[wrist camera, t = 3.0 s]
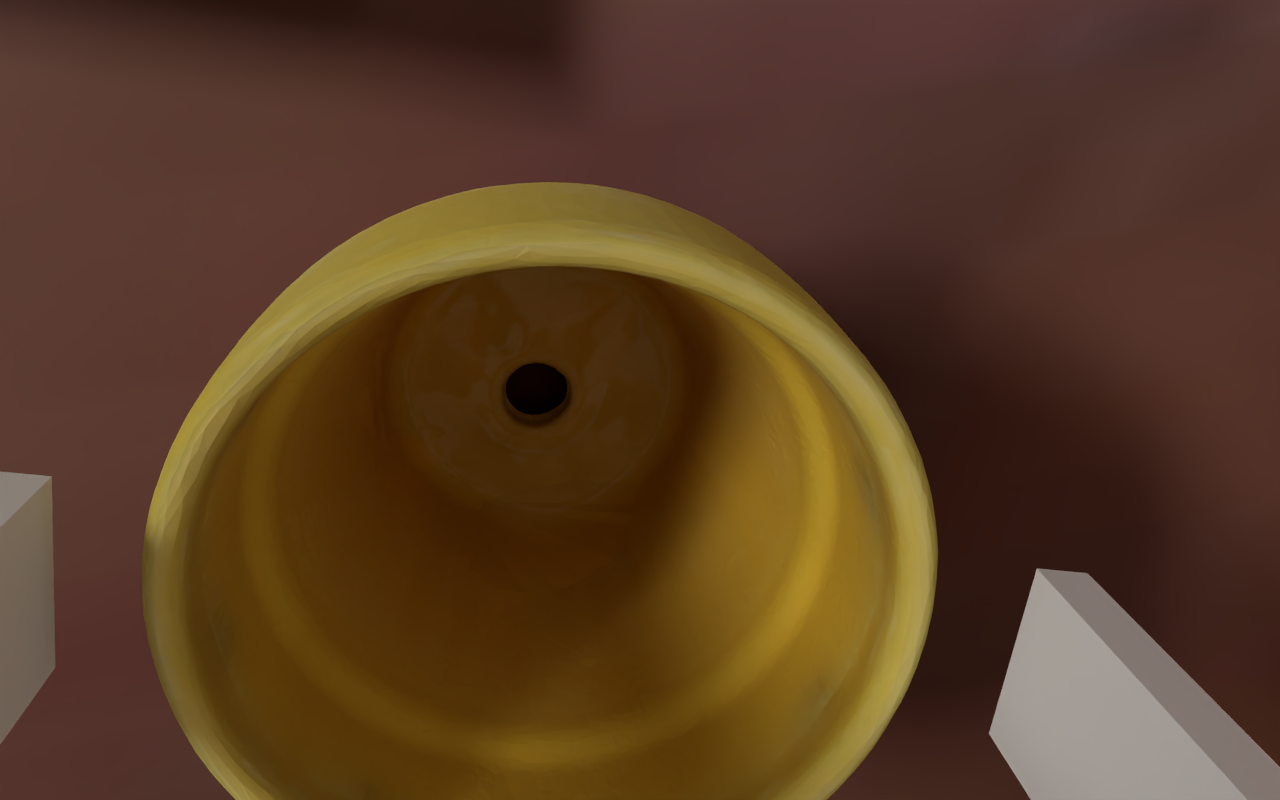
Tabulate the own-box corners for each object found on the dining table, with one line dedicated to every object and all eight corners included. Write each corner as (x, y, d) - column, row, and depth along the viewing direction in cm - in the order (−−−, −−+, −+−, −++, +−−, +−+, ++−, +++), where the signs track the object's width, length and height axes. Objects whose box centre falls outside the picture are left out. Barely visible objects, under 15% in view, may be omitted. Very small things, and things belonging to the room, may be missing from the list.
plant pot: (630, 659, 26) (690, 1017, 17) (205, 471, 24) (7, 775, 14) (874, 278, 24) (1099, 461, 14) (427, 20, 21) (357, 44, 12)
